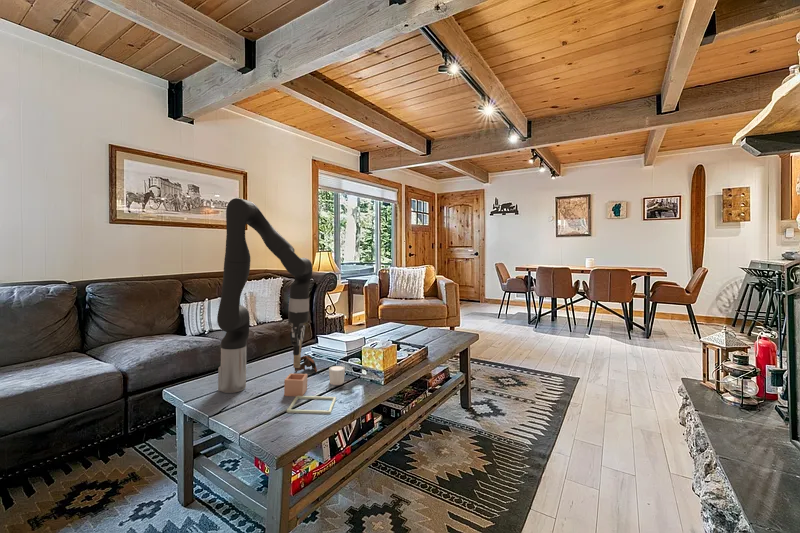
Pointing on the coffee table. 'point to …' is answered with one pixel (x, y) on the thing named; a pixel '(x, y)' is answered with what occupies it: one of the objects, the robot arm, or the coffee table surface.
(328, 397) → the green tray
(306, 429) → the coffee table surface
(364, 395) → the coffee table surface
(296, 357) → the birch pin
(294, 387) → the square clay pot
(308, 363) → the brown curved piece
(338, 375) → the beige cylinder
